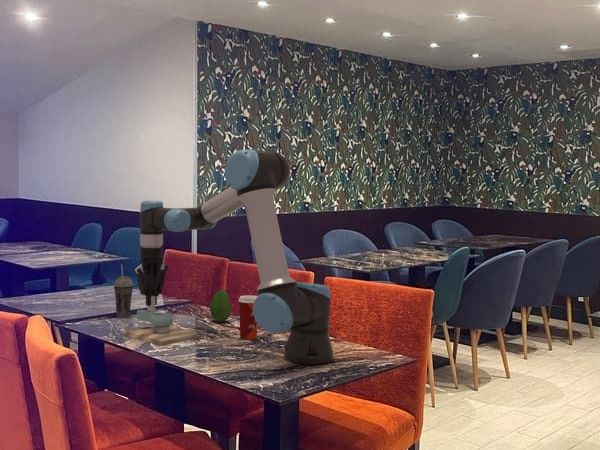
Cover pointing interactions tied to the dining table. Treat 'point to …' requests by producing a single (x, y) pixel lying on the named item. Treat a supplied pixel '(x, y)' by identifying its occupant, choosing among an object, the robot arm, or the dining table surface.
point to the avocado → (220, 306)
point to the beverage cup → (123, 295)
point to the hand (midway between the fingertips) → (151, 314)
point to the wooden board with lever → (161, 334)
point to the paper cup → (247, 317)
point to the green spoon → (155, 318)
